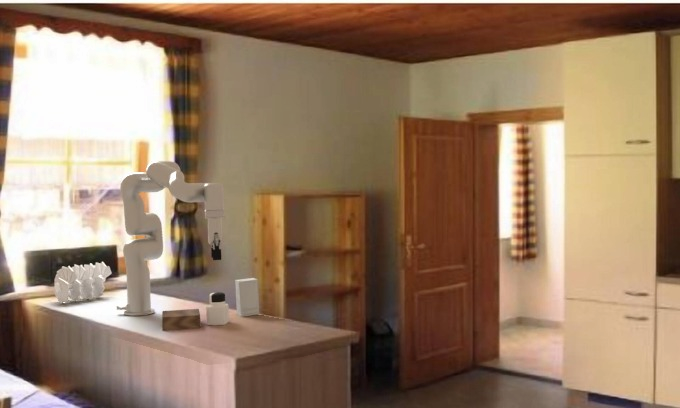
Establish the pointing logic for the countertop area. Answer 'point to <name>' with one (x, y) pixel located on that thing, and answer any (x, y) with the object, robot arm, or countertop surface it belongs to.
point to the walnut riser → (180, 319)
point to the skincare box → (247, 297)
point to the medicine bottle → (217, 309)
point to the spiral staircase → (80, 281)
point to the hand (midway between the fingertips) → (216, 258)
